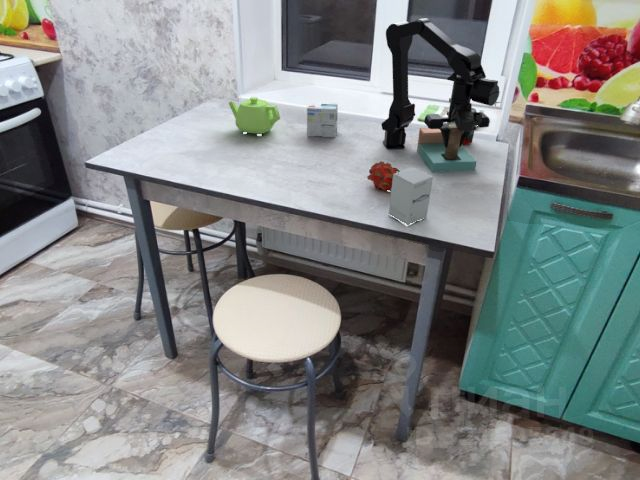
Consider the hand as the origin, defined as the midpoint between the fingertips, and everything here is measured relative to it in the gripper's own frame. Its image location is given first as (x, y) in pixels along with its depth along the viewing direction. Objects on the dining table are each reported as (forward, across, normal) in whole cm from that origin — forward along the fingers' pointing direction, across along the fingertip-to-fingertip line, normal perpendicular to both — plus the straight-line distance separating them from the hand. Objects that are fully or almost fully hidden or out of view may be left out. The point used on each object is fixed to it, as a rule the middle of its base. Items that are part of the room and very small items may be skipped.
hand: (452, 146), depth 150 cm
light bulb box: (+7, -38, +31) cm, 49 cm away
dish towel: (+7, +15, +42) cm, 45 cm away
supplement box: (+7, -22, -30) cm, 38 cm away
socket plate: (+6, 0, +4) cm, 7 cm away
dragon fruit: (+7, -24, -13) cm, 28 cm away
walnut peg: (+4, 0, 0) cm, 4 cm away
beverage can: (+7, +11, +18) cm, 22 cm away
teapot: (+7, -62, +36) cm, 72 cm away
